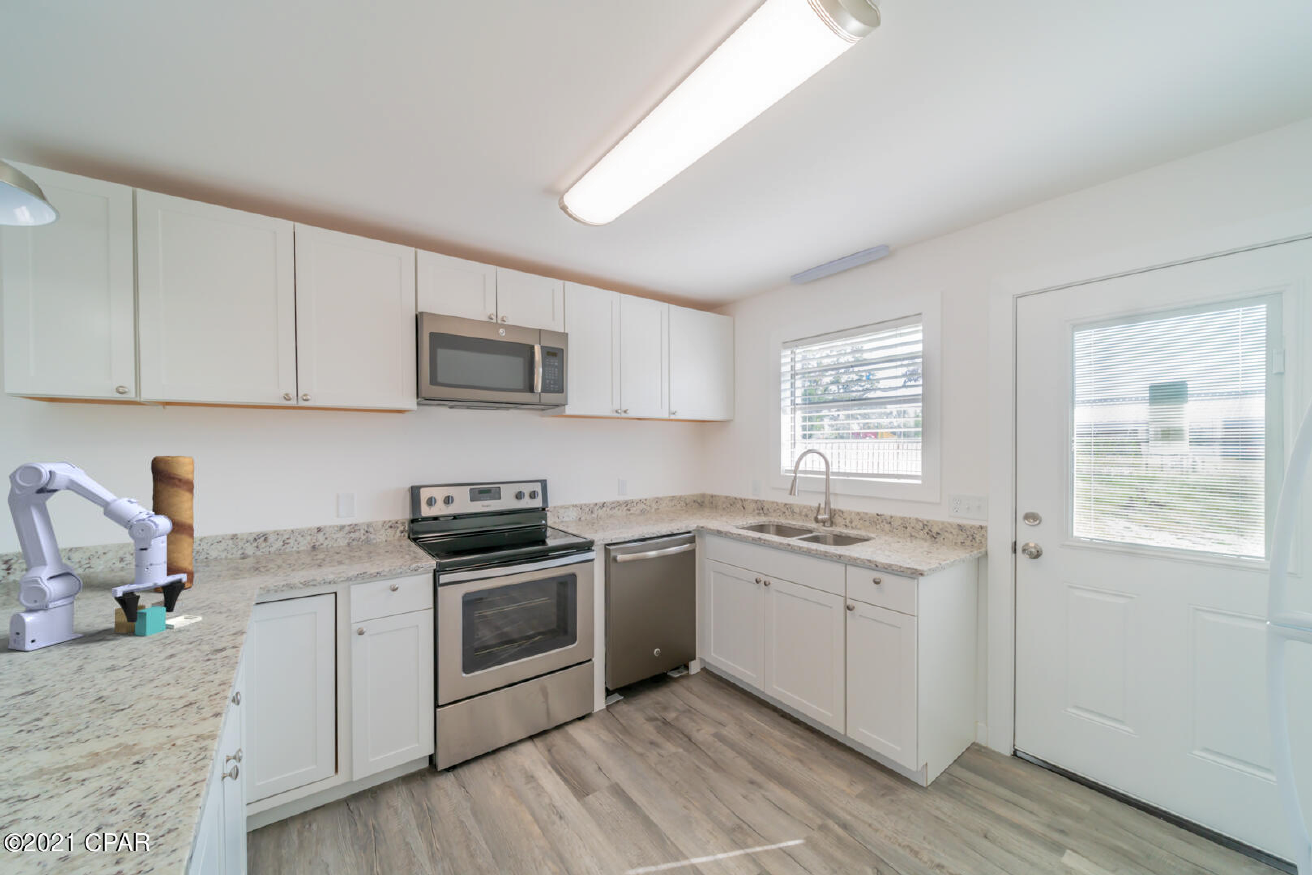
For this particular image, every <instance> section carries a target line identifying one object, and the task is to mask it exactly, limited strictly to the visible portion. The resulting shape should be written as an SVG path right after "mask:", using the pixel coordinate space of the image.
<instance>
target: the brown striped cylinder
mask: <svg viewBox="0 0 1312 875" xmlns="http://www.w3.org/2000/svg"><path fill="white" fill-rule="evenodd" d="M150 471H151V474H152V475H151V476H152V496H151V497H152V499H151V500H152V508H151V509H152V510H151V511H152V512H154V515H164V516H166V517H167V518H168V519H169V520H170V521H171V523H172V529H171V531H170V533H168V534H167V576H171V575H177V574H187V581H184V582H182V583H185V587H184V589H183V590H187V589H189V588H192V587H193V585H194V579H195V572H194V564H193V563H194V562H193V561H194V556H193V554H194V553H193V551H194V542H195V537H194V536H195V535H194V534H195V529H194V528H195V527H194V498H195V497H194V496H195V495H194V494H195V492H194V490H195V483H194V480H195V479H194V478H195V474H194V472H195V461H194V457H192V456H184V455H183V456H182V455H175V456H174V455H173V456H172V455H163V456H162V455H156V456H154V457H153V458H152V460H151V462H150ZM153 592H154V593H156V592H158V593H159V594H163V591H162V588H161V586H160V587H156V588H153Z"/></svg>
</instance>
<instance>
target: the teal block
mask: <svg viewBox="0 0 1312 875" xmlns="http://www.w3.org/2000/svg"><path fill="white" fill-rule="evenodd" d="M166 629H167V628H166V607H157V606H154V607H151V606H150V607H147V608H146V607H145V609H142V610H138V611H137V622H135V631H134V632H135V633H134V634H135V636H140V635H141V636H142V637H149V636H152V635H155V634H158V633H162V632H166ZM141 636H140V637H141Z"/></svg>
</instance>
